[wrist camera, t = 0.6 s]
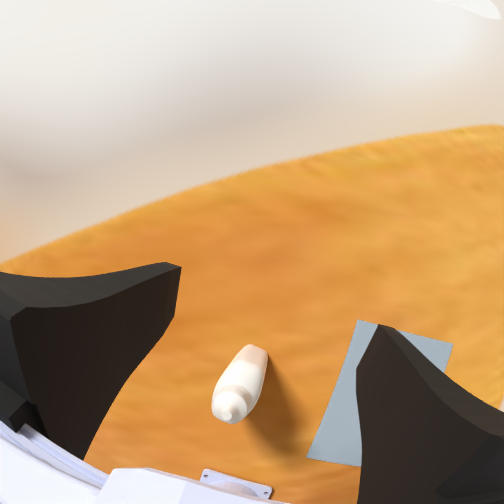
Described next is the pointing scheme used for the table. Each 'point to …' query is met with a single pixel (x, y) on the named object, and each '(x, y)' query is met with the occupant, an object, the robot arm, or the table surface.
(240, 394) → the eye dropper bottle
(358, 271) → the table surface
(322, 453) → the mat
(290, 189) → the table surface
